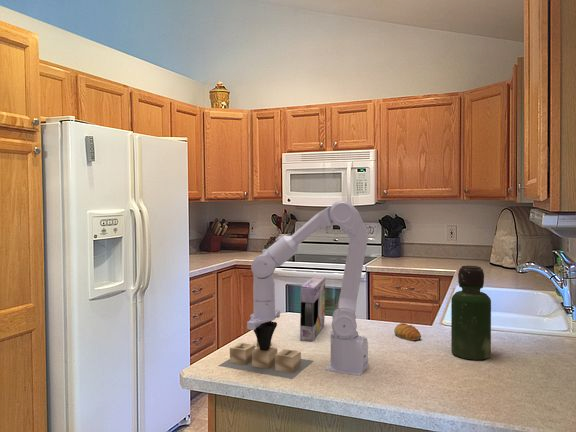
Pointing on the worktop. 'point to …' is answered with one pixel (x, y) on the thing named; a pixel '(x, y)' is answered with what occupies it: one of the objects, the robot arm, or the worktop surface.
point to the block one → (288, 360)
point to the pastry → (407, 332)
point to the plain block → (264, 357)
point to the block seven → (241, 353)
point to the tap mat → (269, 371)
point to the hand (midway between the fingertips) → (264, 349)
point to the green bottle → (471, 316)
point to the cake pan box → (312, 308)
